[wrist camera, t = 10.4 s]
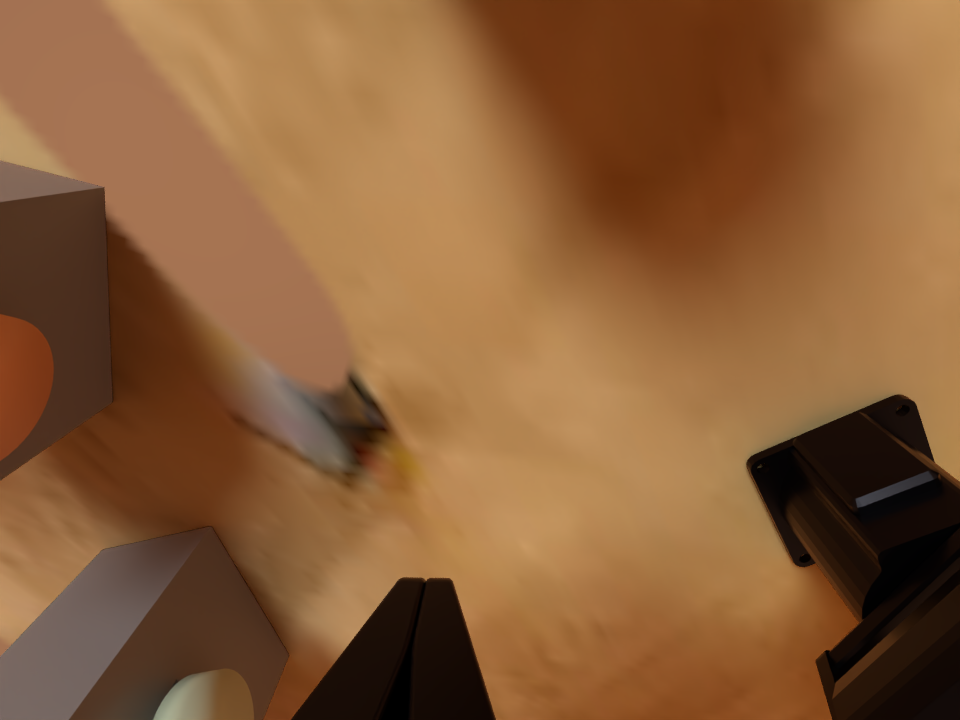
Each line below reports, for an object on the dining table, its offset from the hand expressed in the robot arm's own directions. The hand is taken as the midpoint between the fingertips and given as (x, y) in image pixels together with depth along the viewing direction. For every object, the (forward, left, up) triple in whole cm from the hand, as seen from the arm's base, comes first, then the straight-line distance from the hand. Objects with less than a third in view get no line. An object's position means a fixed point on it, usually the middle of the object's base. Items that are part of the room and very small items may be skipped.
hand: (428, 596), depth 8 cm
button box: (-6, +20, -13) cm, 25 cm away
